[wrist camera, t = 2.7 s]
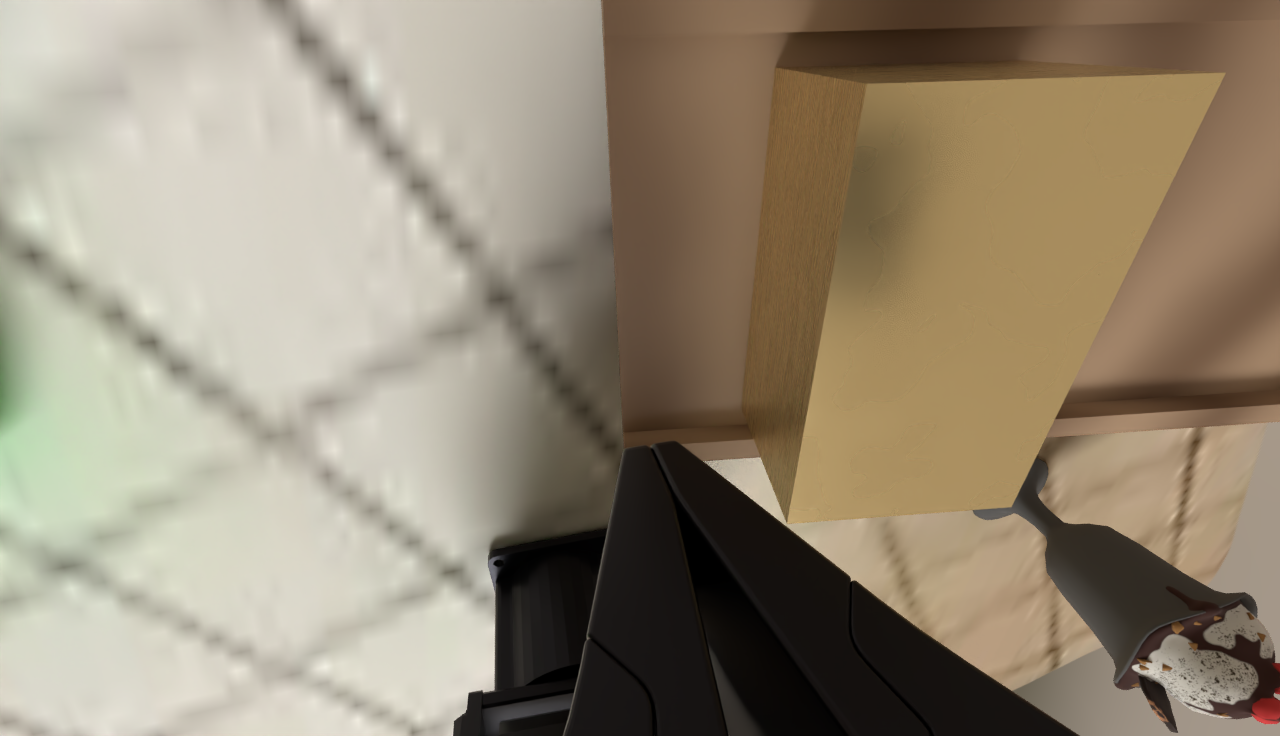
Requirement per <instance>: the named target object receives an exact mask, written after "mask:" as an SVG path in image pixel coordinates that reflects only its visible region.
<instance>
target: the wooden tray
mask: <svg viewBox="0 0 1280 736" xmlns="http://www.w3.org/2000/svg"><path fill="white" fill-rule="evenodd" d="M601 6H602V26H603V46H604V66H605V86H606V106H607V127H608V147H609V167H610V187H611V207H612V227H613V247H614V267H615V287H616V308H617V328H618V348H619V368H620V388H621V408H622V428H623V444H624V449H625V448H628V447H634V446H641V445H648V446H649V447H650V446H651V445H652V444H654V443H659V442H665V441H672V440H673V441H677V442H679V443H680V444H681V445H683V446H684V447H685V448H687V449H688V450H689V451H690V452H692V453H693V454H694V455H696V456H697V457H698V458H699V459H701V460H702V461H710V460H725V459H740V458H754V457H760V455H759V452H758V449H757V447H756V444H755V442H754V439H753V437H752V434H751V432H750V429H749V427H748V424H747V422H746V419H745V417H744V414H743V412H742V409H741V406H742V396H743V386H744V375H745V365H746V355H747V345H748V335H749V325H750V315H751V304H752V294H753V284H754V274H755V264H756V254H757V244H758V234H759V223H760V213H761V203H762V193H763V183H764V173H765V163H766V152H767V142H768V132H769V122H770V112H771V102H772V92H773V82H774V71H775V67H808V66H842V65H876V64H910V63H945V62H979V61H1013V60H1021V61H1038V62H1055V63H1072V64H1088V65H1105V66H1122V67H1139V68H1156V69H1172V70H1189V71H1206V72H1223V73H1226V74H1225V76H1224V78H1223V80H1222V82H1221V84H1220V86H1219V88H1218V90H1217V92H1216V94H1215V96H1214V98H1213V100H1212V102H1211V104H1210V106H1209V108H1208V110H1207V112H1206V114H1205V116H1204V118H1203V120H1202V122H1201V124H1200V126H1199V128H1198V130H1197V132H1196V134H1195V136H1194V138H1193V141H1192V143H1191V145H1190V147H1189V149H1188V151H1187V153H1186V155H1185V157H1184V159H1183V161H1182V163H1181V165H1180V167H1179V169H1178V171H1177V173H1176V175H1175V177H1174V179H1173V181H1172V183H1171V185H1170V187H1169V189H1168V191H1167V193H1166V195H1165V197H1164V199H1163V201H1162V203H1161V205H1160V207H1159V209H1158V211H1157V213H1156V215H1155V217H1154V219H1153V221H1152V224H1151V226H1150V228H1149V230H1148V232H1147V234H1146V236H1145V238H1144V240H1143V242H1142V244H1141V246H1140V248H1139V250H1138V252H1137V254H1136V256H1135V258H1134V260H1133V262H1132V264H1131V266H1130V268H1129V270H1128V272H1127V274H1126V276H1125V278H1124V280H1123V282H1122V284H1121V286H1120V288H1119V290H1118V292H1117V294H1116V296H1115V298H1114V300H1113V302H1112V304H1111V307H1110V309H1109V311H1108V313H1107V315H1106V317H1105V319H1104V321H1103V323H1102V325H1101V327H1100V329H1099V331H1098V333H1097V335H1096V337H1095V339H1094V341H1093V343H1092V345H1091V347H1090V349H1089V351H1088V353H1087V355H1086V357H1085V359H1084V361H1083V363H1082V365H1081V367H1080V369H1079V371H1078V373H1077V375H1076V377H1075V379H1074V381H1073V383H1072V385H1071V387H1070V390H1069V392H1068V394H1067V396H1066V398H1065V400H1064V402H1063V404H1062V406H1061V408H1060V410H1059V412H1058V414H1057V416H1056V418H1055V420H1054V422H1053V424H1052V426H1051V428H1050V430H1049V432H1048V434H1047V436H1046V438H1047V437H1062V436H1077V435H1091V434H1106V433H1121V432H1135V431H1150V430H1165V429H1179V428H1194V427H1209V426H1223V425H1238V424H1253V423H1267V422H1280V0H601Z"/></svg>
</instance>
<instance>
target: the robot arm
mask: <svg viewBox="0 0 1280 736" xmlns="http://www.w3.org/2000/svg"><path fill="white" fill-rule="evenodd" d="M488 567H489V571H490V575H491V578H492V582H493V586H494V590H495V691H490V692H484V693H483V690H481V691H475V692H469V695H468V705H467V710H466V713H464V714H462V716H460V717H459V718H458V719H456V720H455V721H454V732H453V736H1079V735H1078V734H1076V733H1075V732H1073V731H1072V730H1070V729H1069V728H1067V727H1066V726H1064V725H1063V724H1061V723H1059V722H1058V721H1057V720H1055V719H1053V718H1052V717H1051V716H1049V715H1048V714H1046V713H1044V712H1043V711H1041V710H1040V709H1038V708H1037V707H1035V706H1034V705H1032V704H1031V703H1029V702H1028V701H1026V700H1025V699H1023V698H1022V697H1020V696H1019V695H1017V694H1015V693H1014V692H1013V691H1011V690H1010V689H1008V688H1006V687H1005V686H1003V685H1002V684H1000V683H999V682H997V681H996V680H994V679H993V678H991V677H990V676H988V675H987V674H985V673H984V672H982V671H981V670H979V669H978V668H976V667H975V666H973V665H971V664H970V663H968V662H967V661H965V660H964V659H963V658H961V657H960V656H958V655H957V654H955V653H954V652H952V651H951V650H949V649H948V648H946V647H945V646H944V645H942V644H941V643H939V642H938V641H936V640H935V639H933V638H932V637H930V636H929V635H927V634H926V633H925V632H923V631H922V630H920V629H919V628H917V627H916V626H915V625H913V624H912V623H911V622H909V621H908V620H907V619H905V618H904V617H903V616H901V615H900V614H899V613H897V612H896V611H895V610H893V609H892V608H891V607H889V606H888V605H887V604H885V603H884V602H883V601H881V600H880V599H879V598H877V597H876V596H875V595H874V594H872V593H871V592H870V591H868V590H867V589H866V588H865V587H863V586H862V585H861V584H859V583H858V582H857V581H852V582H851V578H850V576H849V575H848V574H846V573H845V572H844V571H842V570H841V569H840V568H839V567H837V566H836V565H835V564H834V563H832V562H831V561H830V560H828V559H827V558H826V557H825V556H823V555H822V554H821V553H819V552H818V551H817V550H816V549H814V548H813V547H812V546H811V545H809V544H808V543H807V542H805V541H804V540H803V539H802V538H800V537H799V536H798V535H796V534H795V533H794V532H793V531H791V530H790V529H789V528H788V527H786V526H785V525H784V524H782V523H781V522H780V521H779V520H777V519H776V518H775V517H773V516H772V515H771V514H770V513H768V512H767V511H766V510H765V509H763V508H762V507H761V506H759V505H758V504H757V503H756V502H754V501H753V500H752V499H750V498H749V497H748V496H747V495H745V494H744V493H743V492H742V491H740V490H739V489H738V488H736V487H735V486H734V485H733V484H731V483H730V482H729V481H727V480H726V479H725V478H724V477H722V476H721V475H720V474H719V473H717V472H716V471H715V470H713V469H712V468H711V467H710V466H708V465H707V464H706V463H704V462H703V461H702V460H701V459H699V458H698V457H697V456H696V455H694V454H693V453H692V452H690V451H689V450H688V449H687V448H685V447H684V446H683V445H681V444H680V443H679V442H677V441H673V440H672V441H665V442H659V443H654V444H652V445H651V446H650V447H649V446H648V445H641V446H634V447H628V448H625V449H624V450H623V452H622V457H621V462H620V467H619V472H618V477H617V483H616V488H615V493H614V498H613V503H612V508H611V513H610V518H609V523H608V529H604V530H598V531H593V532H588V533H582V534H577V535H572V536H566V537H561V538H556V539H550V540H545V541H540V542H534V543H529V544H524V545H518V546H513V547H508V548H502V549H497V550H494V551H492V552H491V553H490V554H489V555H488ZM728 733H729V734H728Z"/></svg>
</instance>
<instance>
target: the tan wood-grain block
mask: <svg viewBox="0 0 1280 736" xmlns="http://www.w3.org/2000/svg"><path fill="white" fill-rule="evenodd" d="M1225 74H1226V73H1223V72H1206V71H1189V70H1172V69H1156V68H1139V67H1122V66H1105V65H1088V64H1072V63H1055V62H1038V61H1021V60H1013V61H979V62H945V63H910V64H876V65H842V66H808V67H775V71H774V82H773V92H772V102H771V112H770V122H769V132H768V142H767V152H766V163H765V173H764V183H763V193H762V203H761V213H760V223H759V234H758V244H757V254H756V264H755V274H754V284H753V294H752V304H751V315H750V325H749V335H748V345H747V355H746V365H745V375H744V386H743V396H742V406H741V409H742V412H743V414H744V417H745V419H746V422H747V424H748V427H749V429H750V432H751V434H752V437H753V439H754V442H755V444H756V447H757V449H758V452H759V455H760V457H761V460H762V462H763V465H764V467H765V470H766V472H767V475H768V477H769V480H770V482H771V485H772V487H773V490H774V492H775V495H776V497H777V500H778V502H779V505H780V507H781V510H782V512H783V515H784V518H785V520H786V523H787V524H792V523H805V522H819V521H832V520H846V519H859V518H873V517H886V516H899V515H913V514H926V513H940V512H953V511H967V510H980V509H993V508H1007V507H1012V505H1013V503H1014V501H1015V499H1016V497H1017V495H1018V493H1019V491H1020V489H1021V487H1022V485H1023V483H1024V481H1025V479H1026V477H1027V475H1028V473H1029V470H1030V468H1031V466H1032V464H1033V462H1034V460H1035V458H1036V456H1037V454H1038V452H1039V450H1040V448H1041V446H1042V444H1043V442H1044V440H1045V438H1046V436H1047V434H1048V432H1049V430H1050V428H1051V426H1052V424H1053V422H1054V420H1055V418H1056V416H1057V414H1058V412H1059V410H1060V408H1061V406H1062V404H1063V402H1064V400H1065V398H1066V396H1067V394H1068V392H1069V390H1070V387H1071V385H1072V383H1073V381H1074V379H1075V377H1076V375H1077V373H1078V371H1079V369H1080V367H1081V365H1082V363H1083V361H1084V359H1085V357H1086V355H1087V353H1088V351H1089V349H1090V347H1091V345H1092V343H1093V341H1094V339H1095V337H1096V335H1097V333H1098V331H1099V329H1100V327H1101V325H1102V323H1103V321H1104V319H1105V317H1106V315H1107V313H1108V311H1109V309H1110V307H1111V304H1112V302H1113V300H1114V298H1115V296H1116V294H1117V292H1118V290H1119V288H1120V286H1121V284H1122V282H1123V280H1124V278H1125V276H1126V274H1127V272H1128V270H1129V268H1130V266H1131V264H1132V262H1133V260H1134V258H1135V256H1136V254H1137V252H1138V250H1139V248H1140V246H1141V244H1142V242H1143V240H1144V238H1145V236H1146V234H1147V232H1148V230H1149V228H1150V226H1151V224H1152V221H1153V219H1154V217H1155V215H1156V213H1157V211H1158V209H1159V207H1160V205H1161V203H1162V201H1163V199H1164V197H1165V195H1166V193H1167V191H1168V189H1169V187H1170V185H1171V183H1172V181H1173V179H1174V177H1175V175H1176V173H1177V171H1178V169H1179V167H1180V165H1181V163H1182V161H1183V159H1184V157H1185V155H1186V153H1187V151H1188V149H1189V147H1190V145H1191V143H1192V141H1193V138H1194V136H1195V134H1196V132H1197V130H1198V128H1199V126H1200V124H1201V122H1202V120H1203V118H1204V116H1205V114H1206V112H1207V110H1208V108H1209V106H1210V104H1211V102H1212V100H1213V98H1214V96H1215V94H1216V92H1217V90H1218V88H1219V86H1220V84H1221V82H1222V80H1223V78H1224V76H1225Z"/></svg>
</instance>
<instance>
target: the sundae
mask: <svg viewBox="0 0 1280 736" xmlns="http://www.w3.org/2000/svg"><path fill="white" fill-rule="evenodd" d="M1047 477H1048V468H1047V465H1046V463H1045V462H1043V461H1042V460H1040V459H1036V458H1035V460H1034V462H1033V464H1032V466H1031V468H1030V470H1029V473H1028V475H1027V477H1026V479H1025V481H1024V483H1023V485H1022V487H1021V489H1020V491H1019V493H1018V495H1017V497H1016V499H1015V501H1014V503H1013V505H1012V507H1007V508H993V509H980V510H973V512H974V514H975V515H976V516H978V517H979V518H982V519H985V520H993V519H999V518H1002V517H1005V516H1008V515H1011V514H1013V513H1015V514H1018V515H1020V516H1021V517H1023V518H1025V519H1026V520H1027V521H1029V522H1030V523H1031V524H1033V525H1034V526H1035V527H1036V528H1037V529H1038V530H1039V531H1040V532H1041V533H1042V534H1044V535H1045V536H1046V539H1047V548H1046V552H1045V559H1046V569H1047V573H1048V575H1049V576H1050V577H1051V579H1052V580H1053V582H1054V583H1055V585H1056V586H1057V587H1058V589H1059V590H1060V592H1061V593H1062V595H1063V596H1064V597H1065V598H1066V600H1067V601H1068V602H1069V603H1070V604H1071V606H1072V607H1073V608H1074V609H1075V610H1076V612H1077V613H1078V614H1079V615H1080V617H1081V618H1082V619H1083V620H1084V621H1085V623H1086V624H1087V625H1088V626H1089V627H1090V629H1091V630H1092V631H1093V632H1094V634H1095V635H1096V636H1097V638H1098V639H1099V641H1100V642H1101V643H1102V645H1103V646H1104V648H1105V649H1106V650H1107V651H1108V653H1109V654H1110V656H1111V657H1112V659H1113V660H1114V663H1115V666H1116V671H1115V675H1114V680H1113V681H1114V684H1115V686H1116V687H1117V688H1119V689H1122V690H1129V689H1132V688H1135V687H1137V688H1141V689H1142V691H1143V693H1144V694H1145V696H1146V698H1147V700H1148V702H1149V704H1150V706H1151V708H1152V710H1153V711H1154V713H1155V714H1156V715H1157V716H1158V717H1159V718H1160V720H1161V721H1163V722H1164V723H1165V724H1166V726H1167V727H1168V728H1169V730H1170V731H1171V732H1176V733H1178V731H1177V727H1176V723H1175V720H1174V716H1173V713H1172V709H1171V705H1170V701H1169V699H1168V697H1167V694H1166V691H1165V689H1166V690H1167V691H1168V692H1169V694H1170V695H1171V696H1173V697H1174V698H1175V699H1177V700H1178V701H1180V702H1181V703H1182V704H1184V705H1185V706H1187V707H1188V708H1190V709H1191V710H1192V711H1195V712H1199V713H1203V714H1207V715H1211V716H1215V717H1219V718H1225V719H1242V718H1248V717H1252V716H1253V717H1254V718H1255V719H1256V720H1257V721H1259V722H1261V723H1264V724H1277V723H1279V722H1280V700H1278V699H1277V698H1275V697H1274V693H1276V694H1280V663H1275V651H1274V645H1273V642H1272V639H1271V637H1270V635H1269V633H1268V631H1267V630H1266V628H1265V627H1264V625H1263V624H1262V623H1261V622H1260V621H1259V620H1258V619H1257V606H1256V602H1255V600H1254V599H1253V598H1252V597H1251V596H1250V595H1248V594H1247V593H1245V592H1244V593H1227V594H1226V593H1222V592H1218V591H1214V590H1212V589H1211V588H1209V587H1207V586H1205V585H1204V584H1202V583H1200V582H1198V581H1196V580H1195V579H1193V578H1191V577H1189V576H1187V575H1186V574H1184V573H1182V572H1181V571H1179V570H1178V569H1176V568H1175V567H1173V566H1172V565H1170V564H1169V563H1167V562H1166V561H1164V560H1163V559H1161V558H1160V557H1158V556H1157V555H1155V554H1154V553H1152V552H1151V551H1149V550H1148V549H1146V548H1145V547H1143V546H1141V545H1140V544H1138V543H1137V542H1135V541H1133V540H1131V539H1129V538H1128V537H1126V536H1124V535H1122V534H1121V533H1119V532H1117V531H1115V530H1114V529H1112V528H1110V527H1108V526H1101V525H1094V524H1068V523H1064V522H1063V521H1061V520H1060V519H1059V518H1058V517H1057V516H1055V515H1054V514H1053V513H1052V512H1051V511H1050V510H1049V509H1048V508H1047V507H1046V506H1045V505H1044V504H1043V503H1042V501H1041V500H1040V499H1039V497H1038V494H1039V493H1040V491H1041V490H1042V488H1043V487H1044V485H1045V483H1046V480H1047Z"/></svg>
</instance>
